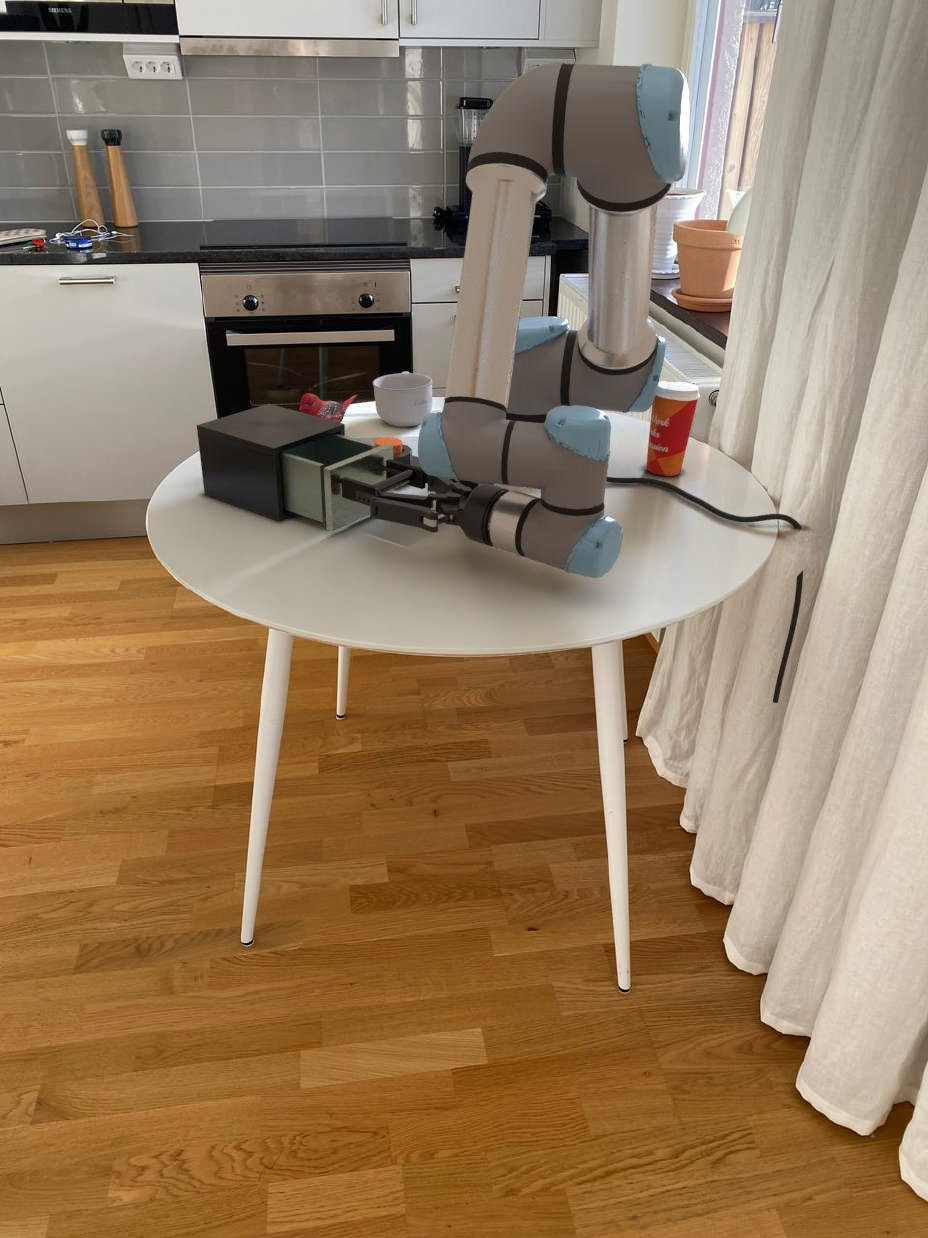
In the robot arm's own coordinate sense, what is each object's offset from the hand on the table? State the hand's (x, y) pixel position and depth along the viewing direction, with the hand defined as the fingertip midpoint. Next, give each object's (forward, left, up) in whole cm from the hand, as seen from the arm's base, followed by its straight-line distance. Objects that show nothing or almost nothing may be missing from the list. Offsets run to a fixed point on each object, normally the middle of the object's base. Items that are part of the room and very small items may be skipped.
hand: (366, 477), depth 129 cm
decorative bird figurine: (+29, -23, -7) cm, 38 cm away
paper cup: (-23, -47, -7) cm, 53 cm away
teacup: (+27, -41, -7) cm, 50 cm away
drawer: (+5, 0, -6) cm, 8 cm away
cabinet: (+18, 0, -7) cm, 19 cm away
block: (+11, -17, -7) cm, 22 cm away
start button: (+11, -17, -3) cm, 21 cm away
